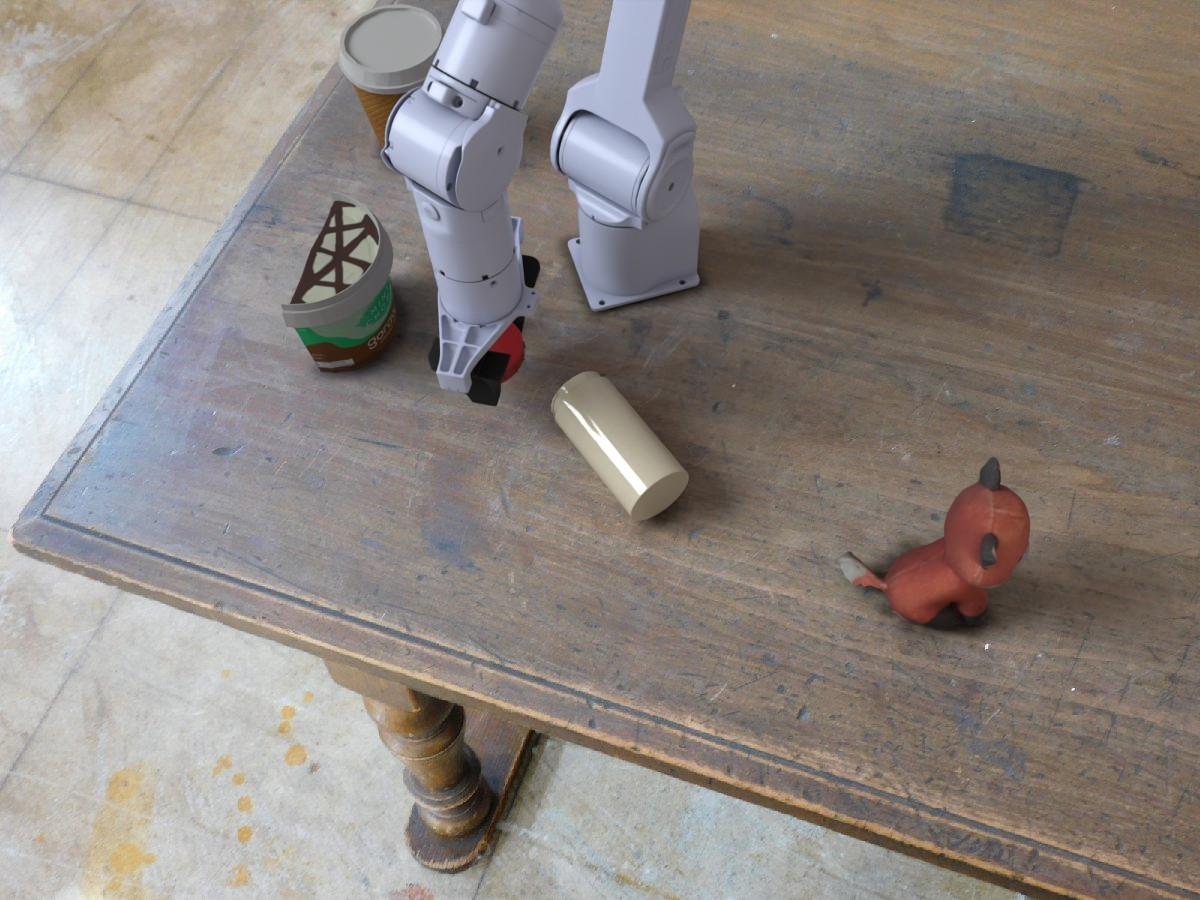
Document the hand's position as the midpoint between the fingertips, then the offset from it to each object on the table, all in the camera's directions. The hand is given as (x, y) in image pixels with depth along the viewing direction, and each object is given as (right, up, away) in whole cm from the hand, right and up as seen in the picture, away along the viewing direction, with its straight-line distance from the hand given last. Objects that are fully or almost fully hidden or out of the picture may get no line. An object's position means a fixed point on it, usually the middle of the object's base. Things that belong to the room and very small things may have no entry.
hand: (496, 367), depth 83 cm
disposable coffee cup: (-9, +22, +17) cm, 29 cm away
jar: (+12, -10, -5) cm, 17 cm away
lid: (-1, +1, -2) cm, 2 cm away
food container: (-11, +3, +6) cm, 13 cm away
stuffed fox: (+30, -16, -7) cm, 35 cm away
